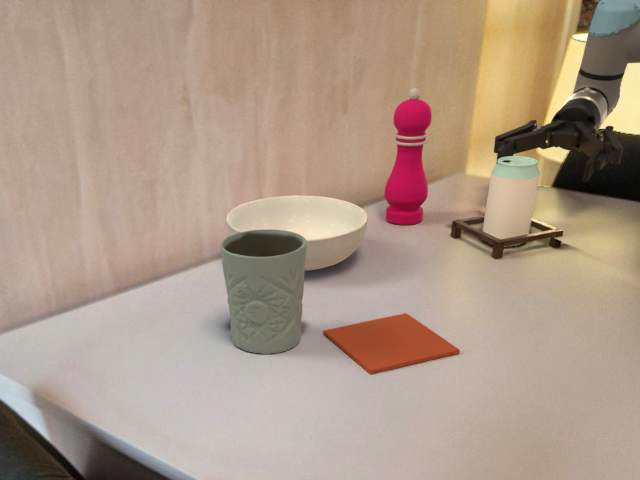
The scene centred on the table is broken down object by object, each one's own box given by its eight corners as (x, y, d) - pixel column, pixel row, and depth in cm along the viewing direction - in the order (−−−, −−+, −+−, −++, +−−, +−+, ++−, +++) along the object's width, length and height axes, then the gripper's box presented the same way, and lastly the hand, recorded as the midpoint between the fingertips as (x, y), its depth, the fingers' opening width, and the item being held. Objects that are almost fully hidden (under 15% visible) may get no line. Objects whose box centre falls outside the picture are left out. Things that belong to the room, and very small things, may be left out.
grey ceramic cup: (253, 364, 90) (250, 263, 82) (210, 335, 96) (203, 239, 89) (322, 341, 94) (325, 243, 86) (276, 315, 101) (274, 222, 93)
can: (486, 249, 118) (498, 166, 111) (477, 234, 124) (488, 155, 116) (532, 248, 118) (548, 165, 110) (521, 233, 123) (535, 153, 116)
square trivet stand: (560, 246, 118) (563, 230, 116) (495, 259, 114) (498, 242, 113) (511, 225, 127) (514, 209, 125) (450, 236, 123) (452, 220, 122)
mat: (459, 353, 90) (460, 349, 90) (370, 374, 87) (370, 370, 86) (405, 316, 99) (406, 312, 99) (323, 334, 96) (323, 330, 95)
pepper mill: (403, 229, 127) (415, 94, 115) (373, 219, 132) (382, 88, 119) (434, 220, 130) (448, 87, 118) (403, 210, 135) (414, 82, 123)
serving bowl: (215, 284, 110) (212, 236, 106) (242, 237, 126) (241, 193, 122) (360, 290, 107) (362, 240, 102) (369, 240, 123) (372, 196, 119)
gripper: (509, 92, 134) (466, 136, 122) (662, 101, 124) (631, 151, 112) (504, 137, 140) (462, 183, 128) (650, 149, 129) (620, 201, 117)
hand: (541, 168), depth 120 cm, fingers open, 13 cm apart
